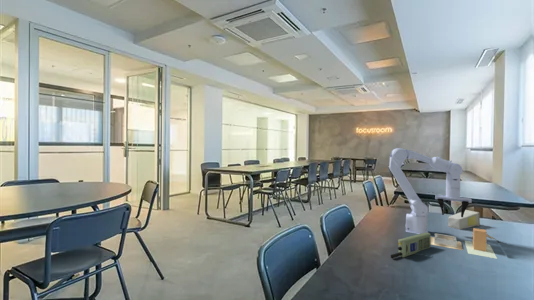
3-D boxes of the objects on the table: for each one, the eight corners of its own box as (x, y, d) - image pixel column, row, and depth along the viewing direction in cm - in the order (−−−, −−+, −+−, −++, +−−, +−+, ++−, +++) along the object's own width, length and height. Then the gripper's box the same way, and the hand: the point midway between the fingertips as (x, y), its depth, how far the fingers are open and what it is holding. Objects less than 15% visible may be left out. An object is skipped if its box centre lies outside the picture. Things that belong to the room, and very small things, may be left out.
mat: (467, 254, 108) (468, 253, 108) (464, 241, 123) (464, 240, 123) (497, 260, 103) (497, 258, 103) (489, 245, 118) (489, 244, 118)
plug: (473, 249, 112) (474, 230, 112) (472, 246, 116) (473, 227, 116) (486, 251, 110) (486, 232, 110) (484, 248, 114) (485, 229, 113)
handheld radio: (432, 249, 114) (396, 261, 101) (424, 247, 117) (388, 258, 104) (432, 233, 114) (395, 243, 101) (424, 231, 117) (387, 241, 104)
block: (460, 230, 141) (460, 215, 141) (444, 226, 148) (444, 212, 148) (480, 226, 149) (480, 212, 149) (464, 222, 157) (464, 208, 157)
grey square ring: (434, 243, 118) (434, 238, 118) (434, 238, 125) (434, 233, 125) (456, 247, 114) (456, 241, 114) (455, 242, 121) (455, 236, 121)
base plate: (428, 245, 118) (428, 244, 118) (429, 237, 128) (429, 236, 128) (462, 251, 111) (462, 250, 111) (460, 243, 121) (460, 241, 121)
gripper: (435, 187, 132) (434, 215, 132) (472, 190, 124) (471, 219, 124) (435, 185, 138) (434, 212, 138) (470, 188, 130) (470, 216, 130)
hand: (452, 215), depth 131 cm, fingers open, 7 cm apart
